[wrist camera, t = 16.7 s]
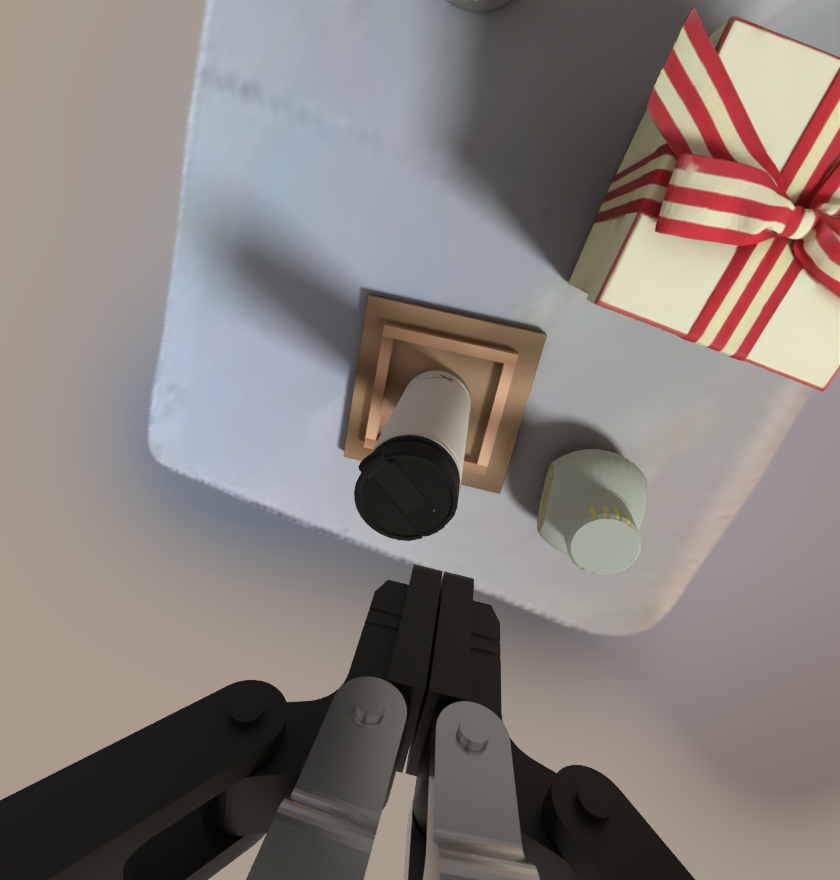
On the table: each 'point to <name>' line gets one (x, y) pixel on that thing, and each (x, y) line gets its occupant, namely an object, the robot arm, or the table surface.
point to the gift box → (731, 204)
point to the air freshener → (594, 509)
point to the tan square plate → (455, 349)
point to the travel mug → (417, 459)
